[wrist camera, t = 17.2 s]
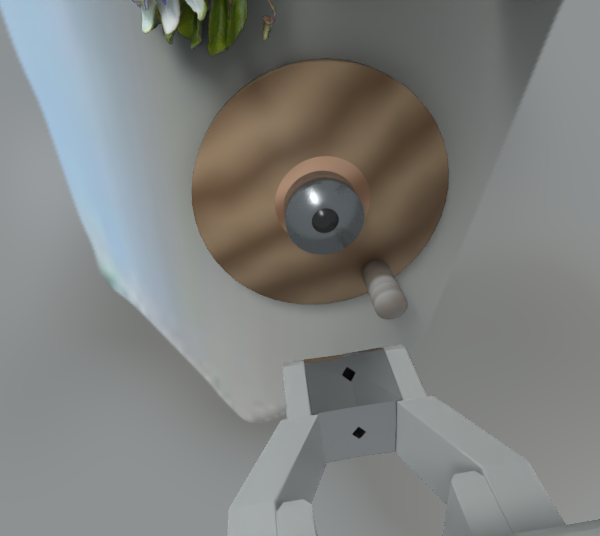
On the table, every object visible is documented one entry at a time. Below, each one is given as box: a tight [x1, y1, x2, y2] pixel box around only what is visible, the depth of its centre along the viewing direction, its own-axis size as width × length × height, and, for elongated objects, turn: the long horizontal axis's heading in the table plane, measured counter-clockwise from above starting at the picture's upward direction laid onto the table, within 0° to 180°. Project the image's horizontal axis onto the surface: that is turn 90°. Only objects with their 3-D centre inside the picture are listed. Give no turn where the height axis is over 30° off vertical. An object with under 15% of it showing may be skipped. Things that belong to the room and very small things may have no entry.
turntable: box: [192, 59, 449, 319], centre depth 38 cm, size 24×24×8 cm
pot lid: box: [283, 171, 364, 255], centre depth 38 cm, size 7×7×3 cm
